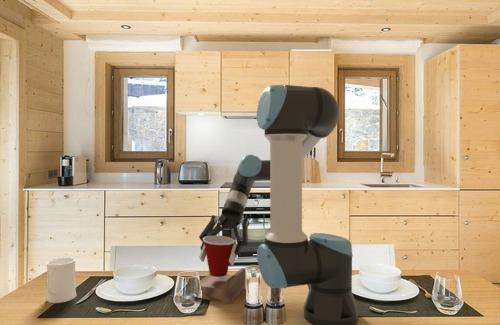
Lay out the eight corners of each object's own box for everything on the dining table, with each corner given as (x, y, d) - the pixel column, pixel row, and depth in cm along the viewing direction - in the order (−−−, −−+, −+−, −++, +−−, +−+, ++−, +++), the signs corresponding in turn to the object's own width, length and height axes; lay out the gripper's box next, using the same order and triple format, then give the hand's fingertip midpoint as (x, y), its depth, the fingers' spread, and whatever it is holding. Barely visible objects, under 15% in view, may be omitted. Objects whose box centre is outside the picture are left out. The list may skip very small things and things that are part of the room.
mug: (58, 308, 109) (58, 269, 109) (32, 307, 110) (32, 267, 110) (81, 293, 121) (81, 257, 121) (58, 292, 122) (57, 256, 122)
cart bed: (245, 288, 125) (245, 268, 125) (230, 303, 113) (230, 280, 113) (211, 283, 129) (211, 264, 129) (193, 297, 117) (193, 276, 117)
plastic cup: (234, 279, 115) (234, 242, 115) (200, 279, 115) (200, 242, 115) (236, 268, 126) (236, 234, 126) (205, 268, 126) (205, 234, 126)
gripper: (266, 214, 131) (251, 270, 117) (210, 210, 139) (189, 263, 125) (261, 201, 126) (245, 259, 112) (203, 198, 134) (181, 252, 120)
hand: (215, 261), depth 118 cm, fingers closed on plastic cup, 10 cm apart
